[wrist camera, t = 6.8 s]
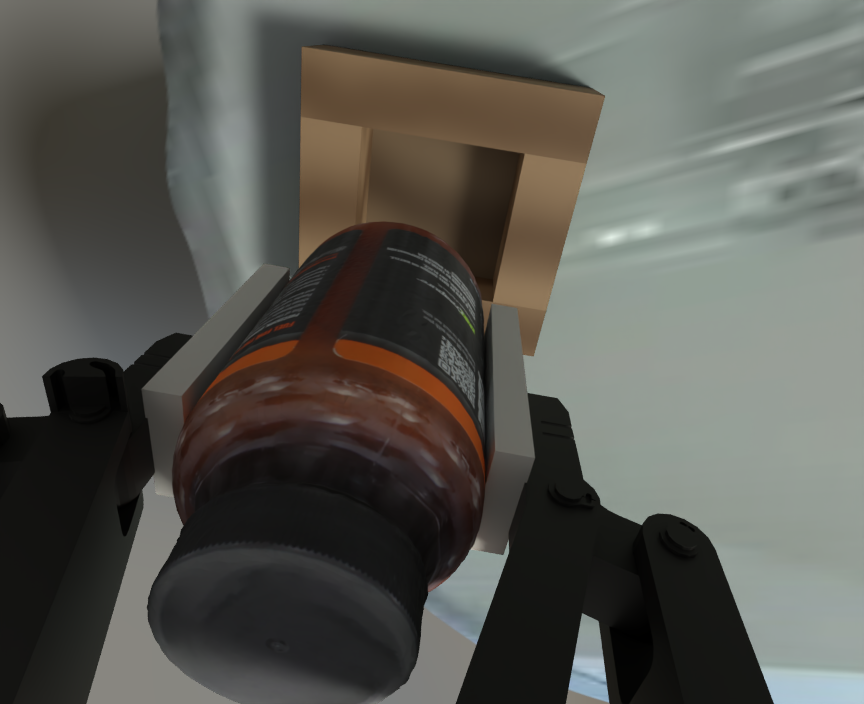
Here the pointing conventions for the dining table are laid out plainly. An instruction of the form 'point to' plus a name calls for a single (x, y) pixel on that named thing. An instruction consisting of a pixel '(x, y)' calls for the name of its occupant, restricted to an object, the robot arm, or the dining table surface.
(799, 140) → the dining table surface
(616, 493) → the dining table surface
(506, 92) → the holder block
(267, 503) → the supplement bottle
